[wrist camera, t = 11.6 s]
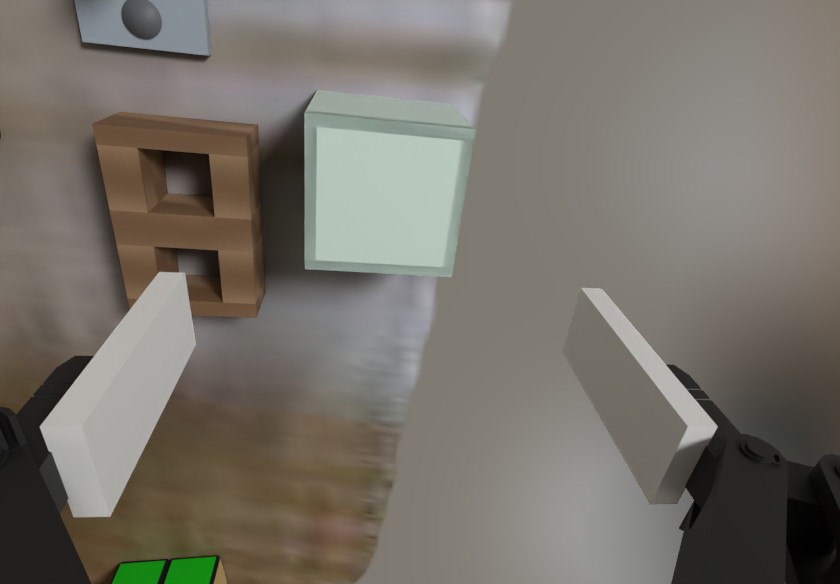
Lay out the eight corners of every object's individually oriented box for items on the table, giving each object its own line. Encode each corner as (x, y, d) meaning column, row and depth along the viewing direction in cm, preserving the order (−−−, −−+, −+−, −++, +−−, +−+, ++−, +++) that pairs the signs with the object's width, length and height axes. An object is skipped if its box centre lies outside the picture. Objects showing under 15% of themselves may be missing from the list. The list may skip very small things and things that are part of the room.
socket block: (265, 292, 37) (256, 317, 34) (150, 286, 36) (130, 312, 33) (257, 124, 31) (246, 137, 28) (119, 112, 30) (92, 123, 27)
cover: (435, 227, 36) (451, 277, 29) (315, 219, 34) (304, 269, 28) (452, 104, 31) (475, 129, 25) (317, 89, 30) (304, 112, 24)
